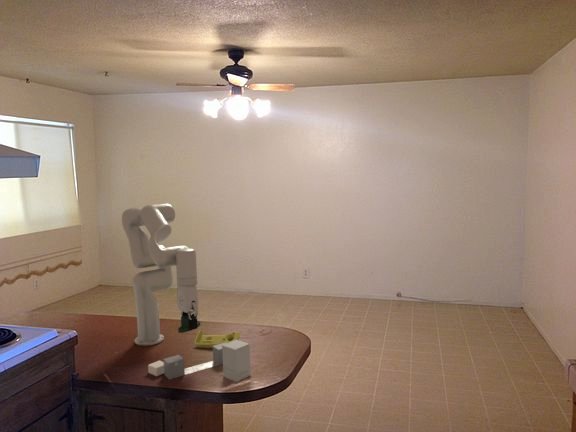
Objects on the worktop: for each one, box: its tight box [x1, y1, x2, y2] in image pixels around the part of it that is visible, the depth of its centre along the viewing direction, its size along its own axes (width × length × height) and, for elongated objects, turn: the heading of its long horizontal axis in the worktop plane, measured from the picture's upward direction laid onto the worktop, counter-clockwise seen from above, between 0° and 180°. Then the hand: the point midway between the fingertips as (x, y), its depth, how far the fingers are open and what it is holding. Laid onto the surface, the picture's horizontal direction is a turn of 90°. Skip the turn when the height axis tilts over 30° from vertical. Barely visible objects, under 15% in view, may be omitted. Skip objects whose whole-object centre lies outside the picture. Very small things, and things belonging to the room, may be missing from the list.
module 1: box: [162, 354, 186, 380], centre depth 174 cm, size 5×6×6 cm
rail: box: [174, 360, 222, 379], centre depth 180 cm, size 5×26×1 cm, turn 125°
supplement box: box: [222, 339, 252, 384], centre depth 172 cm, size 7×7×13 cm
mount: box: [177, 314, 201, 334], centre depth 182 cm, size 11×4×5 cm, turn 149°
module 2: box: [212, 343, 227, 366], centre depth 186 cm, size 5×6×6 cm
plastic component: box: [194, 329, 242, 349], centre depth 203 cm, size 20×7×10 cm
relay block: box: [147, 359, 164, 377], centre depth 177 cm, size 5×5×4 cm
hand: (189, 326), depth 182 cm, fingers closed on mount, 5 cm apart
